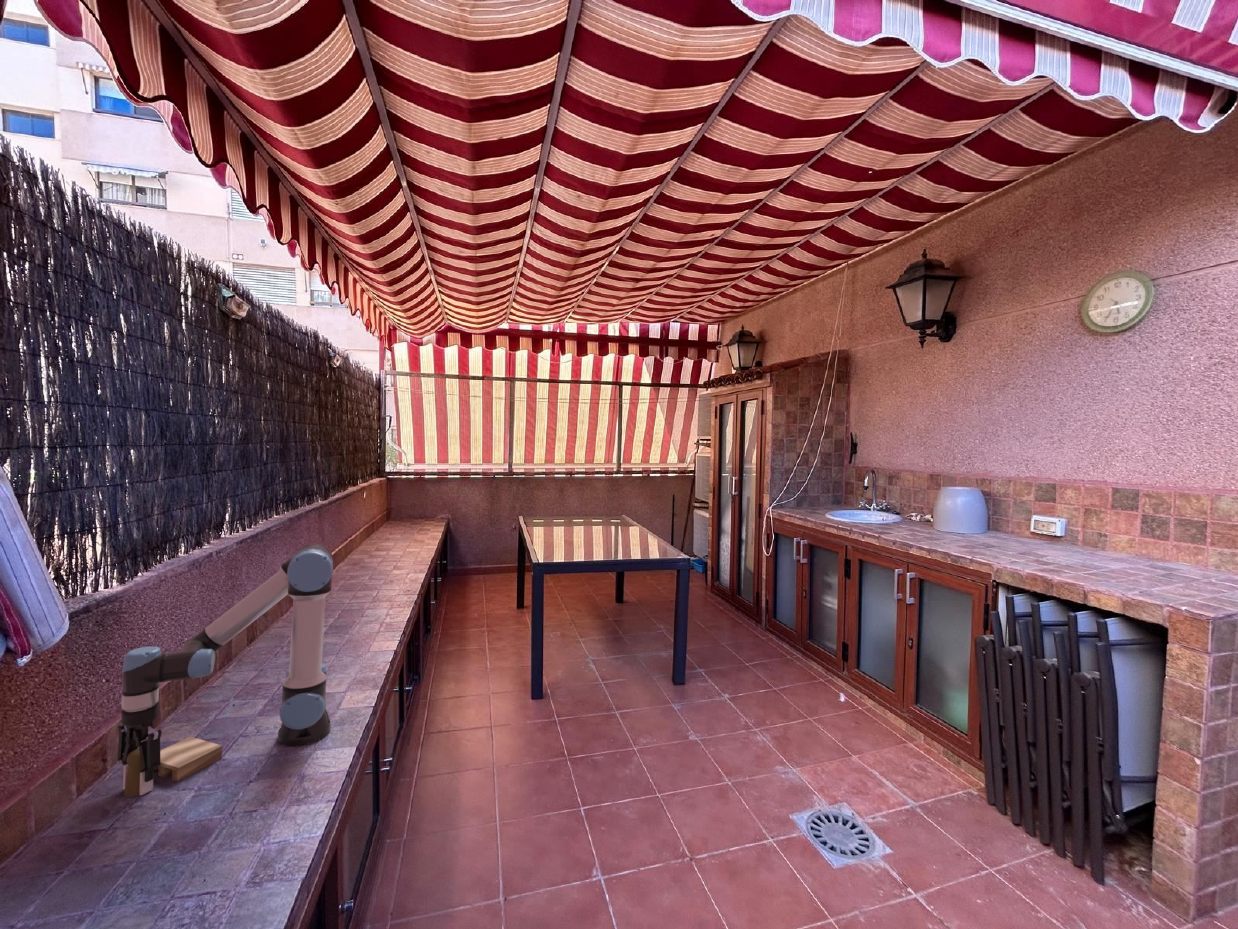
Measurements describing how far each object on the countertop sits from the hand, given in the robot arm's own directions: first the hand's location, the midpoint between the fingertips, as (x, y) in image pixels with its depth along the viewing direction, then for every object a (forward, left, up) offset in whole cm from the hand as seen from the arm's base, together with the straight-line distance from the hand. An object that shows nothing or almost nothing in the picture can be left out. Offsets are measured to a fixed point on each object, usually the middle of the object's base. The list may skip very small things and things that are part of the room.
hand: (138, 789), depth 141 cm
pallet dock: (+1, -12, 0) cm, 12 cm away
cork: (0, 0, 0) cm, 1 cm away
